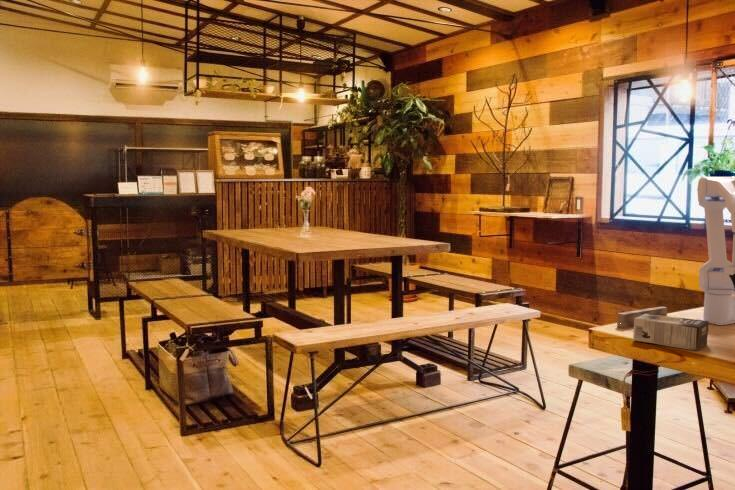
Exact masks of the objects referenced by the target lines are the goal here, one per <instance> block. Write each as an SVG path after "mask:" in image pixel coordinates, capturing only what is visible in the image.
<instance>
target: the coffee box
mask: <svg viewBox="0 0 735 490" xmlns="http://www.w3.org/2000/svg"><path fill="white" fill-rule="evenodd" d="M709 325H710V323H709V321H702V320H697V319H692V318H685V317H677V316H676V317H675V316H668V315H667V316H661V315H653V314H643V315H641V316H639V317H636V318H634V326H633V338H632V339H633V340H632V341H634V342H640V343H648V344H652V345H653V344H654V345H659V346H665V347H669V348H670V347H671V348H677V349H678V348H679V349H684V350H689V351H690V350H691V351H695V352H698V351H700V350H701V349H703V348H704V347H705V346H707V345H708V336H709Z"/></svg>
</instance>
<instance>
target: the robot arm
mask: <svg viewBox="0 0 735 490" xmlns="http://www.w3.org/2000/svg"><path fill="white" fill-rule="evenodd" d="M696 190H697V201H698V205H699V206H700V207H702V208H703V209H704V215H705V227H706V239H707V241H706V242H707V254H708V261H706V262H705V263H704V264H702V265H701V266H700V268H699V275H698V286H699V288H700V290H701V291H703V292H704V300H703V313H702V314H703V316H702V317H701V318H697V319H696V320H702V321H709V324H713V325H717V326H726V325H731V324H735V176H732V175H731V176H701V177H699V180H698V182H697V189H696ZM724 209H727V211H728V212H729V214H730V222H731V233H733V239H732V258H731V261H730V260H728V258H727V256H728V255H727V244H726V235H725V232H726V231H725V224H724V223H725V221H724Z"/></svg>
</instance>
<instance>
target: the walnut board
mask: <svg viewBox="0 0 735 490" xmlns="http://www.w3.org/2000/svg"><path fill="white" fill-rule="evenodd" d="M643 314H653V315H661V316H668V307H666V306H657V307H656V306H655V307H649V308H643V309H635V310H631V311H623V312H618V313H617V319H616V320H617V321H616V327H617V328H621V329H627V328H631V327H634V318H636V317H639V316H641V315H643ZM620 323H621V324H620ZM626 327H627V328H626Z"/></svg>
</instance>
